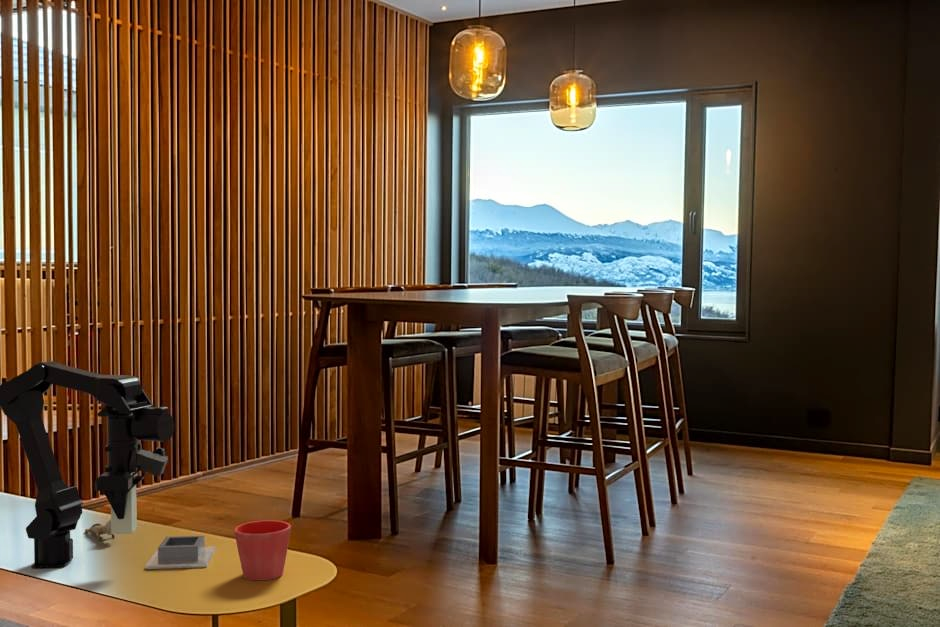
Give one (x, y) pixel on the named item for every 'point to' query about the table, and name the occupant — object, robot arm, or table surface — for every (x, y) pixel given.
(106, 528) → the figurine
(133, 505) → the rail post
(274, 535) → the flower pot
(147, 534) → the table surface
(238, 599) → the table surface
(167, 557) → the bracket
